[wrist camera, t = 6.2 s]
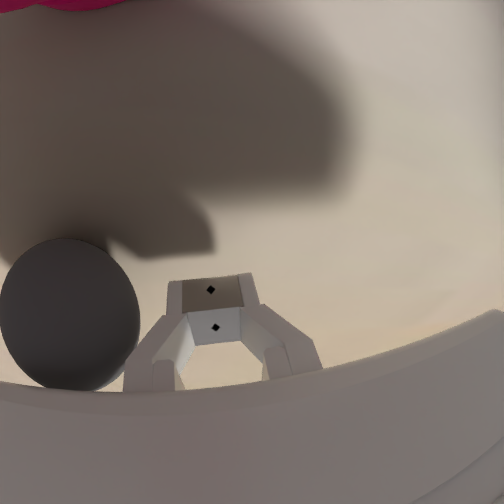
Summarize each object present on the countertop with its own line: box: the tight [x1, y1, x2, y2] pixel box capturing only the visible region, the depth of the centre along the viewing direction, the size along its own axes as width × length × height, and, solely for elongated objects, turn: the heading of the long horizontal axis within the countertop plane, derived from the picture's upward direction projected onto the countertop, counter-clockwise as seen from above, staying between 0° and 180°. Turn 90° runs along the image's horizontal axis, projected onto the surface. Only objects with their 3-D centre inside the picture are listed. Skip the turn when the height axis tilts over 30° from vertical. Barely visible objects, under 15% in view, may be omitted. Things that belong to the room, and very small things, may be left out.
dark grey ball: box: [0, 239, 140, 391], centre depth 8 cm, size 6×6×6 cm
